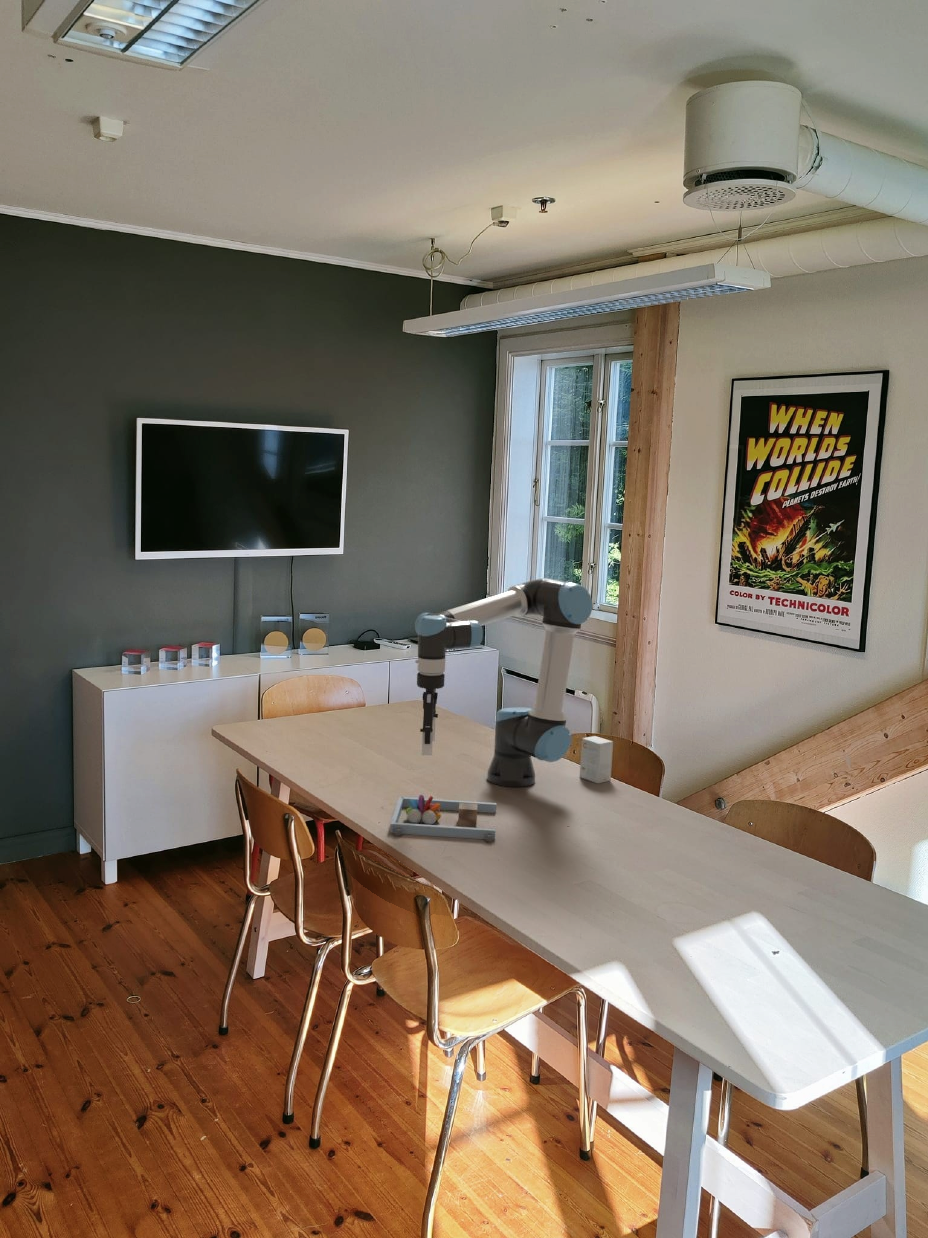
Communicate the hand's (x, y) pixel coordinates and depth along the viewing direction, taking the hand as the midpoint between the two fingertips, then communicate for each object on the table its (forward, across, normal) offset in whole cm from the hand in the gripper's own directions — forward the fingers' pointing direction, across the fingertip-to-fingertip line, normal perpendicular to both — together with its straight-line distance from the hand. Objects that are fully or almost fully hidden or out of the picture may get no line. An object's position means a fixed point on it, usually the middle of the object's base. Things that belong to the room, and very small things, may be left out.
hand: (428, 747), depth 279 cm
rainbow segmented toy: (+20, +4, -1) cm, 20 cm away
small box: (+21, -44, +52) cm, 71 cm away
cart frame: (+20, +5, +6) cm, 21 cm away
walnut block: (+20, +5, +12) cm, 23 cm away
